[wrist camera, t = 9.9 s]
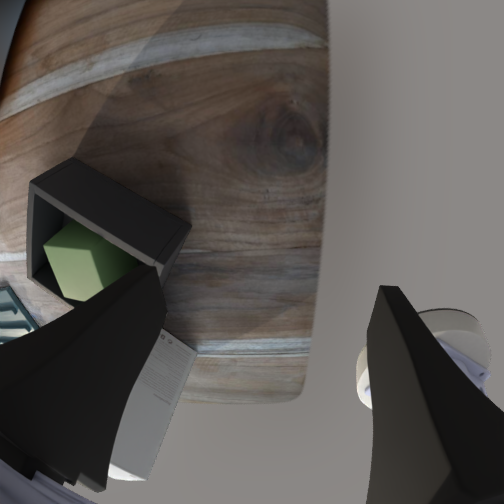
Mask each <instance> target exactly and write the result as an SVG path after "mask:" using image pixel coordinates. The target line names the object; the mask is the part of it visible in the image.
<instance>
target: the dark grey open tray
mask: <svg viewBox="0 0 504 504" xmlns="http://www.w3.org/2000/svg"><path fill="white" fill-rule="evenodd" d="M73 219H75V220H76V221H78V222H79V223H81V224H83V225H84V226H86V227H87V228H89V229H90V230H92V231H94V232H95V233H97V234H98V235H100V236H102V237H103V238H105V239H106V240H108V241H110V242H111V243H113V244H115V245H116V246H118V247H119V248H121V249H123V250H124V251H126V252H128V253H129V254H131V255H133V256H134V257H136V259H137V263H138V266H140V265H147V266H156V268H157V272H158V276H159V280H160V284H161V288H163V286H164V284H165V282H166V279H167V277H168V275H169V273H170V271H171V269H172V267H173V265H174V262H175V260H176V258H177V256H178V254H179V252H180V250H181V248H182V246H183V244H184V242H185V240H186V238H187V236H188V234H189V232H190V230H191V228H192V225H190V224H188V223H186V222H185V221H183V220H181V219H179V218H178V217H176V216H174V215H172V214H171V213H169V212H167V211H165V210H164V209H162V208H160V207H158V206H157V205H155V204H153V203H151V202H150V201H148V200H146V199H144V198H143V197H141V196H139V195H137V194H136V193H134V192H132V191H130V190H129V189H127V188H125V187H123V186H122V185H120V184H118V183H116V182H115V181H113V180H111V179H110V178H108V177H106V176H104V175H103V174H101V173H99V172H97V171H96V170H94V169H92V168H90V167H89V166H87V165H85V164H84V163H82V162H80V161H78V160H77V159H75V158H73V157H71V158H69V159H68V160H66V161H64V162H62V163H60V164H58V165H57V166H55V167H53V168H51V169H49V170H48V171H46V172H44V173H43V174H41V175H39V176H37V177H36V178H34V179H32V180H31V181H30V182H29V193H28V208H27V238H26V253H27V278H28V279H30V280H31V281H33V282H34V283H35V284H36V285H38V286H39V287H40V288H42V289H43V290H44V291H46V292H47V293H48V294H50V295H51V296H53V297H54V298H55V299H57V300H58V301H60V302H61V303H62V304H64V305H65V306H67V307H68V308H70V309H71V310H72V309H74V308H75V307H77V306H78V305H80V304H81V303H83V302H84V301H80V300H75V299H71V298H66V297H64V295H63V293H62V291H61V288H60V286H59V284H58V282H57V279H56V277H55V274H54V272H53V269H52V267H51V265H50V262H49V259H48V257H47V254H46V252H45V249H44V246H43V245H44V244H45V243H46V242H47V241H49V240H50V239H51V238H52V237H53V236H54V235H55V234H57V233H58V232H59V231H60V230H61V229H63V228H64V227H65V226H66V225H67V224H69V223H70V222H71V221H72V220H73Z"/></svg>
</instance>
